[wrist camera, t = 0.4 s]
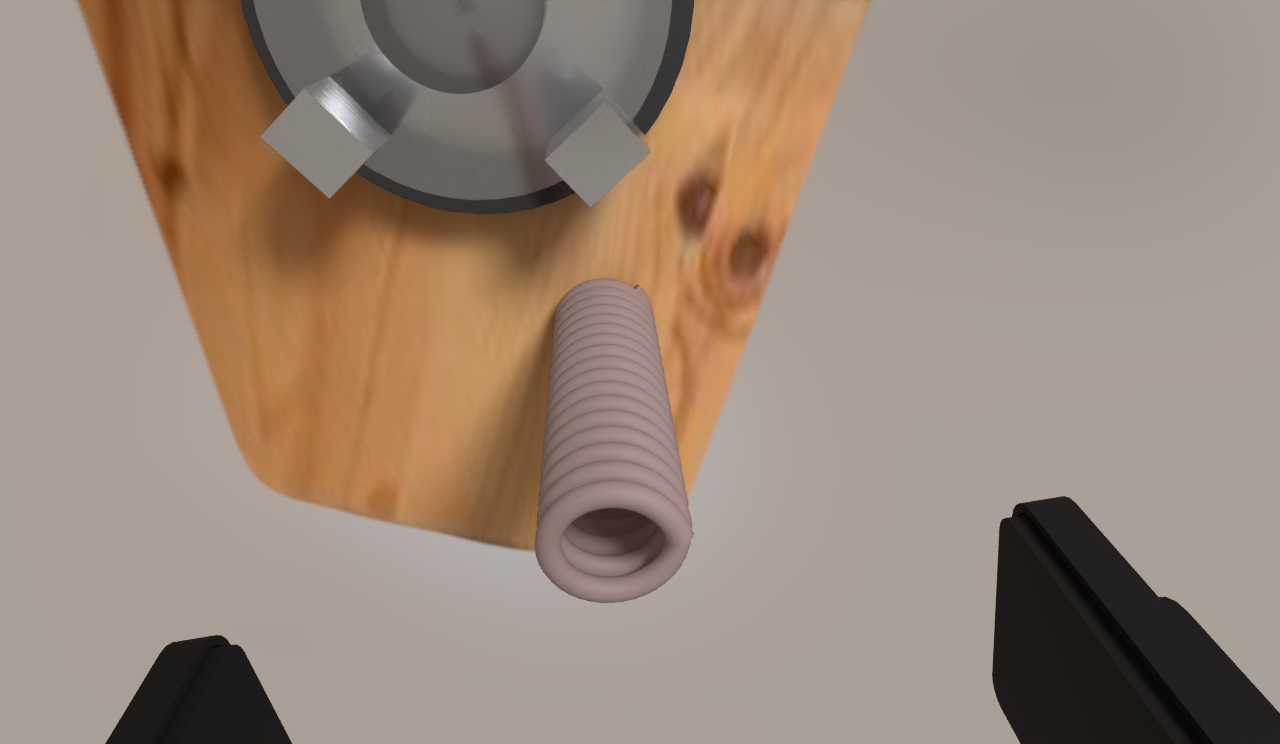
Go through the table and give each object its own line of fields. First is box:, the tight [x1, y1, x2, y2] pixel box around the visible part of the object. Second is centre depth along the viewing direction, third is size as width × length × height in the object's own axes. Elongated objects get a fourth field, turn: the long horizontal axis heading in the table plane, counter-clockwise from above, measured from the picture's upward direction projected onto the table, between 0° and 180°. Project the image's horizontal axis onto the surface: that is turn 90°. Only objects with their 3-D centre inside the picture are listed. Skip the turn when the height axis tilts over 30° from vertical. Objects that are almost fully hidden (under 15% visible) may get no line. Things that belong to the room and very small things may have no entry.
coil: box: [535, 278, 694, 603], centre depth 32 cm, size 5×5×18 cm
